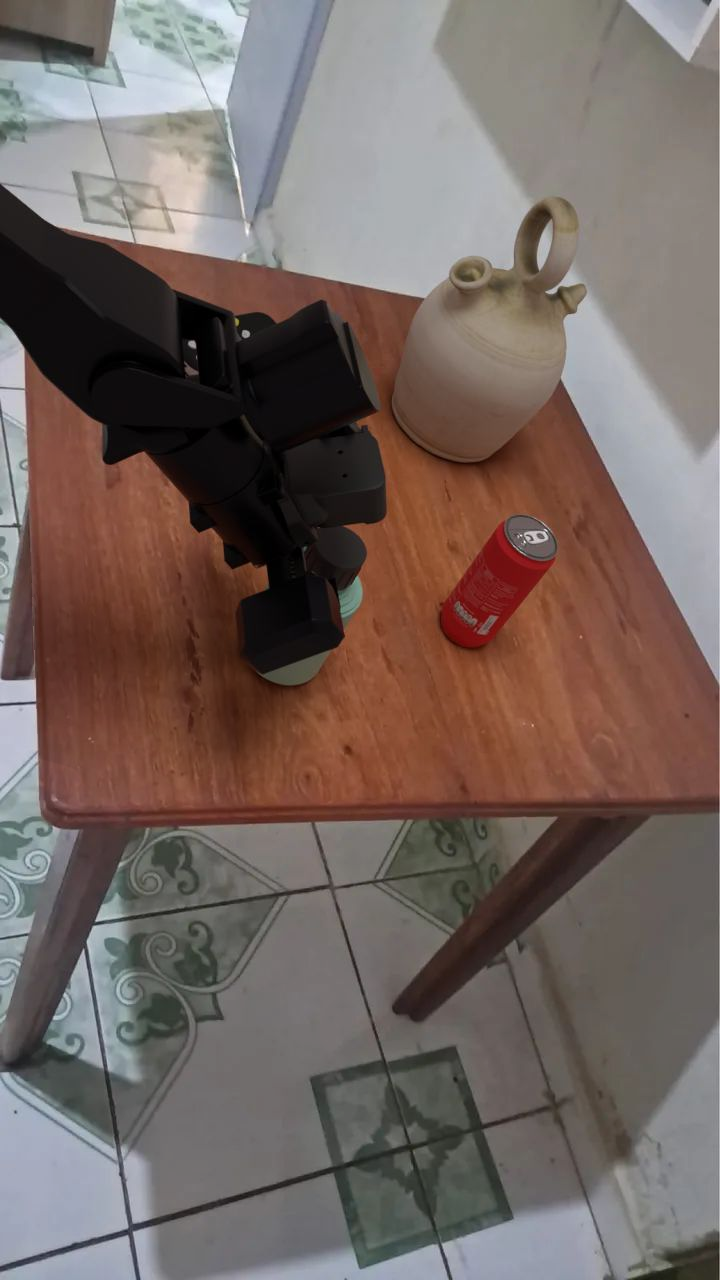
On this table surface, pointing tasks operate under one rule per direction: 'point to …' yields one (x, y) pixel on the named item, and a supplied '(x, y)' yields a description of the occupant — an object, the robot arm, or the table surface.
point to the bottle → (311, 666)
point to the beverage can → (498, 580)
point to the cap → (336, 555)
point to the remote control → (245, 328)
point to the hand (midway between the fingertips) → (329, 600)
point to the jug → (489, 343)
